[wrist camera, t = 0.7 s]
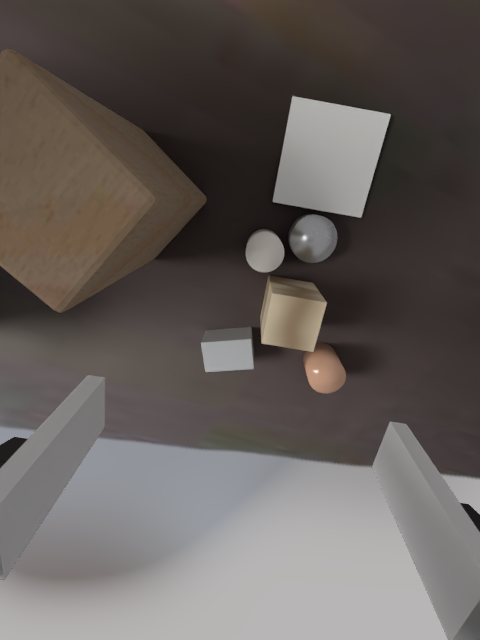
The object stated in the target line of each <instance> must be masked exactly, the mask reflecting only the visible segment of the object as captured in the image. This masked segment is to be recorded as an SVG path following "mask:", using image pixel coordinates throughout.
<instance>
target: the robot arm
mask: <svg viewBox="0 0 480 640" xmlns="http://www.w3.org/2000/svg"><path fill="white" fill-rule="evenodd" d="M104 427H105V378H104V377H98V376H91V375H88V376H87V377H86V378H85V379H84V380H83V381H82V382H81V383H80V384H79V385H78V386H77V387H76V388H75V389H74V390H73V391H72V393H71V394H70V395H69V396H68V397H67V398H66V399H65V400H64V401H63V402H62V403H61V404H60V405H59V406H58V407H57V409H56V410H55V411H54V412H53V413H52V414H51V415H50V416H49V417H48V418H47V419H46V420H45V421H44V422H43V423H42V424H41V426H40V427H39V428H38V429H37V430H36V431H35V432H34V433H33V434H32V435H31V436H30V437H29V438H28V439H24V438H18V437H14V438H12V439H10V440H8V441H7V442H5V443H3V444H1V445H0V580H5V579H6V577H7V576H8V574H9V573H10V571H11V569H12V568H13V567H14V565H15V564H16V562H17V560H18V559H19V557H20V556H21V554H22V552H23V551H24V550H25V548H26V547H27V545H28V544H29V542H30V541H31V539H32V537H33V536H34V534H35V532H36V531H37V530H38V528H39V527H40V525H41V524H42V522H43V520H44V519H45V517H46V516H47V514H48V513H49V511H50V510H51V508H52V507H53V505H54V504H55V502H56V501H57V499H58V498H59V496H60V495H61V493H62V492H63V490H64V488H65V487H66V485H67V484H68V482H69V481H70V479H71V478H72V476H73V475H74V473H75V472H76V470H77V468H78V467H79V465H80V464H81V462H82V461H83V459H84V458H85V456H86V455H87V453H88V452H89V450H90V449H91V447H92V446H93V444H94V442H95V441H96V439H97V438H98V436H99V435H100V433H101V432H102V430H103V429H104ZM372 469H373V471H374V473H375V475H376V478H377V480H378V482H379V484H380V487H381V489H382V491H383V493H384V496H385V498H386V500H387V503H388V505H389V507H390V509H391V512H392V514H393V516H394V518H395V521H396V523H397V525H398V527H399V530H400V532H401V534H402V537H403V539H404V541H405V543H406V546H407V548H408V550H409V552H410V554H411V557H412V559H413V561H414V564H415V566H416V568H417V570H418V573H419V575H420V577H421V579H422V582H423V584H424V586H425V589H426V591H427V593H428V595H429V598H430V600H431V602H432V604H433V607H434V609H435V611H436V613H437V616H438V618H439V620H440V622H441V625H442V627H443V629H444V632H445V634H446V636H447V638H448V640H480V515H479V514H478V513H477V512H476V511H475V510H474V509H473V508H472V507H471V506H470V505H469V504H463V503H459V501H458V500H457V498H456V497H455V495H454V494H453V492H452V491H451V489H450V488H449V486H448V485H447V484H446V482H445V480H444V479H443V478H442V476H441V475H440V473H439V472H438V470H437V469H436V467H435V466H434V464H433V463H432V461H431V460H430V458H429V457H428V455H427V454H426V452H425V451H424V450H423V448H422V447H421V445H420V444H419V442H418V441H417V439H416V438H415V436H414V435H413V433H412V432H411V430H410V429H409V427H408V426H407V424H402V423H396V422H390V423H389V425H388V428H387V430H386V433H385V435H384V438H383V440H382V443H381V445H380V448H379V450H378V453H377V456H376V458H375V461H374V463H373V466H372Z"/></svg>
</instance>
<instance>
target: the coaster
mask: <svg viewBox="0 0 480 640" xmlns="http://www.w3.org/2000/svg"><path fill="white" fill-rule="evenodd" d="M390 116H391V114H387V113H381V112H376V111H371V110H365V109H360V108H354V107H349V106H343V105H338V104H332V103H327V102H322V101H316V100H311V99H305V98H300V97H294V96H292V100H291V106H290V111H289V116H288V121H287V127H286V132H285V137H284V142H283V148H282V153H281V158H280V163H279V169H278V174H277V179H276V185H275V190H274V195H273V200H272V202H275V203H281V204H286V205H292V206H297V207H303V208H309V209H314V210H320V211H326V212H331V213H337V214H342V215H348V216H354V217H359V218H361V217H362V213H363V210H364V206H365V203H366V199H367V196H368V192H369V189H370V185H371V182H372V179H373V175H374V172H375V168H376V165H377V161H378V158H379V154H380V151H381V147H382V144H383V140H384V137H385V133H386V130H387V127H388V123H389V120H390Z"/></svg>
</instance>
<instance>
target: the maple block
mask: <svg viewBox="0 0 480 640" xmlns="http://www.w3.org/2000/svg"><path fill="white" fill-rule="evenodd" d="M326 305H327V302H326V301H325V299H324V298H323V296H322V295H321V293H320V292H319V291H318V289H317V288H316V286H315V285H314V283H311V282H305V281H299V280H293V279H288V278H282V277H276V276H270V275H269V276H268V281H267V286H266V291H265V296H264V301H263V306H262V311H261V316H260V321H261V343H262V344H268V345H274V346H280V347H286V348H292V349H298V350H304V351H310V352H314V348H315V344H316V341H317V337H318V333H319V330H320V326H321V323H322V319H323V315H324V312H325V308H326Z"/></svg>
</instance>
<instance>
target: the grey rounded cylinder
mask: <svg viewBox="0 0 480 640" xmlns="http://www.w3.org/2000/svg"><path fill="white" fill-rule="evenodd" d="M283 258H284V247H283V244H282V242H281V241H280V239H279V237H278V236H277V235H276V234H275V233H274V232H273V231H271V230H268V229H260V230H257V231H255V232H254V233H253V234H252V235H251V236H250V237H249V239H248V242H247V246H246V259H247V262H248V264H249V265H250V266H251V267H252V268H253V269H254V270H256V271H259V272H270V271H273V270H275V269H276V268H278V267H279V266H280V264H281V263H282V261H283Z"/></svg>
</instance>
